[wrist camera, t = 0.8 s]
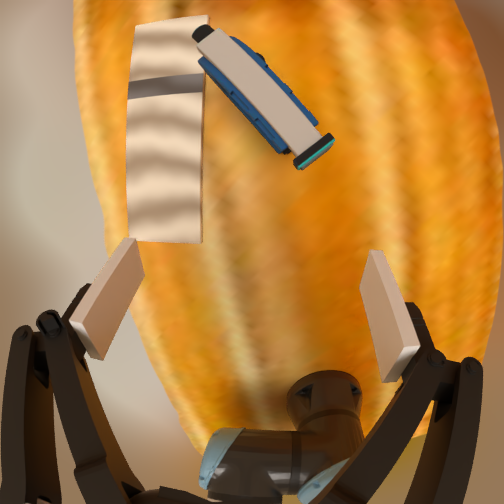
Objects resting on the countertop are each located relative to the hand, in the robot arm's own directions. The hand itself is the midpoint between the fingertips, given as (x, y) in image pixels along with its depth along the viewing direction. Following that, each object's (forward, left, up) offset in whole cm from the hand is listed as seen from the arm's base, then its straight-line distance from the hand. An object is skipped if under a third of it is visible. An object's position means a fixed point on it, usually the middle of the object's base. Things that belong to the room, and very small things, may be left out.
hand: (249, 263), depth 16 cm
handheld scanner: (+12, 0, -28) cm, 31 cm away
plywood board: (+11, +15, -28) cm, 34 cm away
